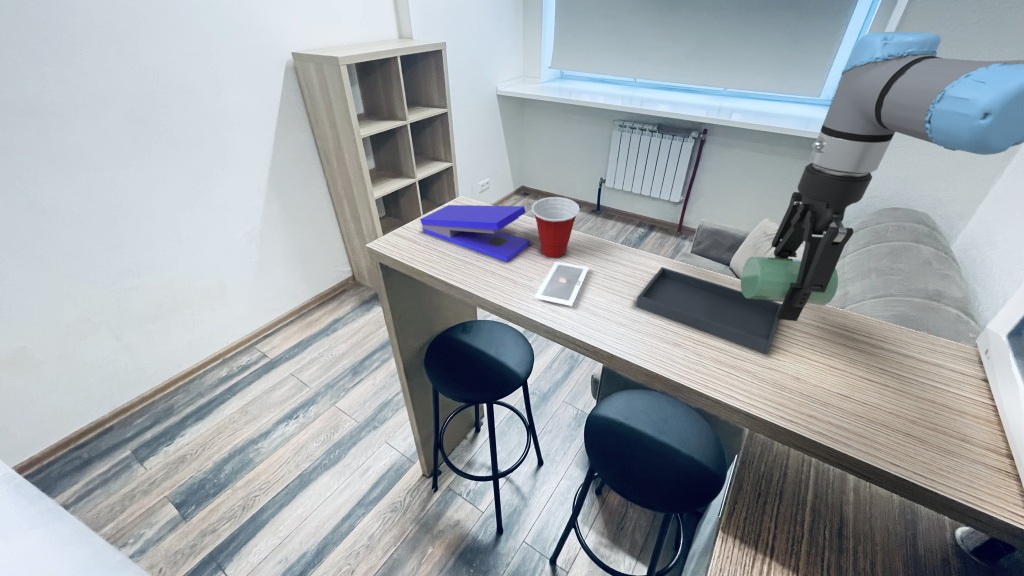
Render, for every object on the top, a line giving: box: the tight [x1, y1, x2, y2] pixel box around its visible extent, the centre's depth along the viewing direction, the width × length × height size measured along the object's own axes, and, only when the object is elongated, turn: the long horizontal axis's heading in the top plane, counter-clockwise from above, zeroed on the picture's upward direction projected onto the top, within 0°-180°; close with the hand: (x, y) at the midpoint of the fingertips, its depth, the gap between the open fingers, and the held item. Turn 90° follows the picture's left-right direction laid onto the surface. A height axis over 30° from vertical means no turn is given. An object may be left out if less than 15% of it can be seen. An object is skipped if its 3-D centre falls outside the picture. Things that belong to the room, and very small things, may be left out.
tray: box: [635, 266, 782, 355], centre depth 78 cm, size 23×13×2 cm, turn 54°
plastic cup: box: [531, 196, 581, 259], centre depth 95 cm, size 11×11×12 cm
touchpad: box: [533, 260, 590, 307], centre depth 86 cm, size 8×15×2 cm, turn 158°
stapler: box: [420, 204, 531, 263], centre depth 102 cm, size 12×28×10 cm, turn 55°
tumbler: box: [740, 256, 839, 306], centre depth 65 cm, size 7×7×11 cm
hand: (778, 304), depth 68 cm, fingers closed on tumbler, 7 cm apart
